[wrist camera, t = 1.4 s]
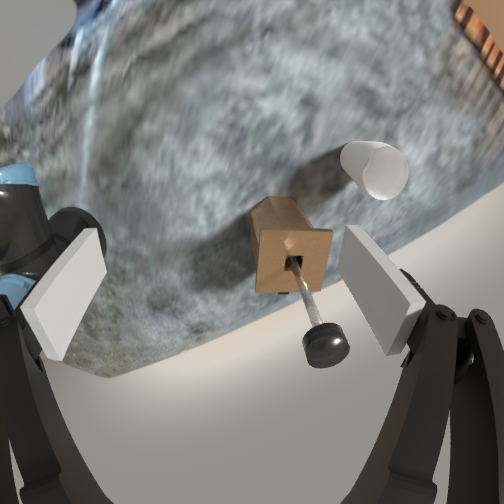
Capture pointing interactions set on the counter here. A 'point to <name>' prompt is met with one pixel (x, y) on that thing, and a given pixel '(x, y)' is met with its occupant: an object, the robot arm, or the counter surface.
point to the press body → (286, 246)
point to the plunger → (318, 327)
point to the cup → (375, 168)
